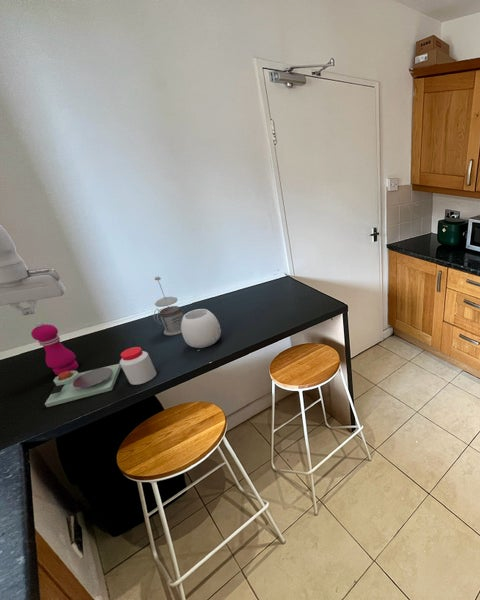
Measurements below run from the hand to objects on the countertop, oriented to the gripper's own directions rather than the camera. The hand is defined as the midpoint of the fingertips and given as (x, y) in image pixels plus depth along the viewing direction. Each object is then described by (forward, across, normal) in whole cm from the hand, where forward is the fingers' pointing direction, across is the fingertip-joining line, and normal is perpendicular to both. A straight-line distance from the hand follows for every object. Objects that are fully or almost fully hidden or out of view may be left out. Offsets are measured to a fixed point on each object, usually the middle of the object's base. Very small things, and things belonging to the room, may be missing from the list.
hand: (29, 313), depth 99 cm
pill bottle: (+25, -23, +16) cm, 37 cm away
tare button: (+22, -2, +6) cm, 23 cm away
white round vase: (+24, -43, +3) cm, 50 cm away
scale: (+25, -8, +11) cm, 28 cm away
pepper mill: (+25, 0, -4) cm, 25 cm away
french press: (+24, -32, -15) cm, 43 cm away
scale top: (+22, -8, +12) cm, 26 cm away
